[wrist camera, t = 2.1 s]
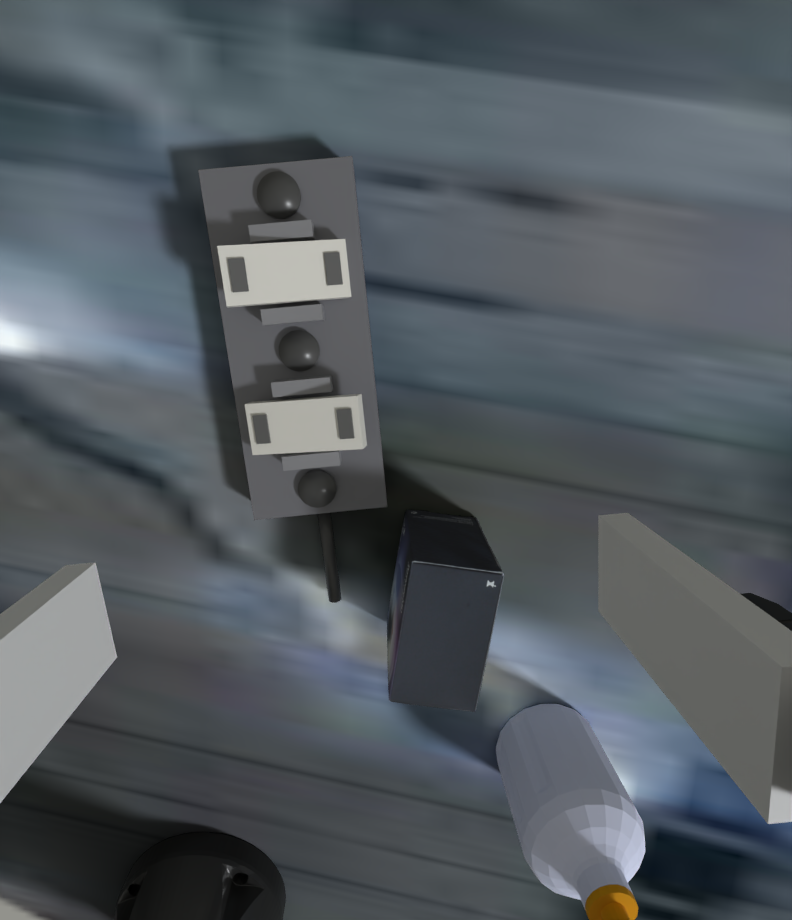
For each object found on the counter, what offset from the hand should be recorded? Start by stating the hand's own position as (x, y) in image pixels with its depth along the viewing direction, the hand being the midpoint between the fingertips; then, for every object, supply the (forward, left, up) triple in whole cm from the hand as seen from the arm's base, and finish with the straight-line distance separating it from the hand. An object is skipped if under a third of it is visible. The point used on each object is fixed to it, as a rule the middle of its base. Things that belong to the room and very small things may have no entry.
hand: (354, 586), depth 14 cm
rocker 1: (-4, +11, -24) cm, 27 cm away
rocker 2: (-4, +1, -24) cm, 25 cm away
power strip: (-4, +6, -29) cm, 30 cm away
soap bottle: (+13, -31, -29) cm, 45 cm away
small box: (+4, -13, -29) cm, 32 cm away
